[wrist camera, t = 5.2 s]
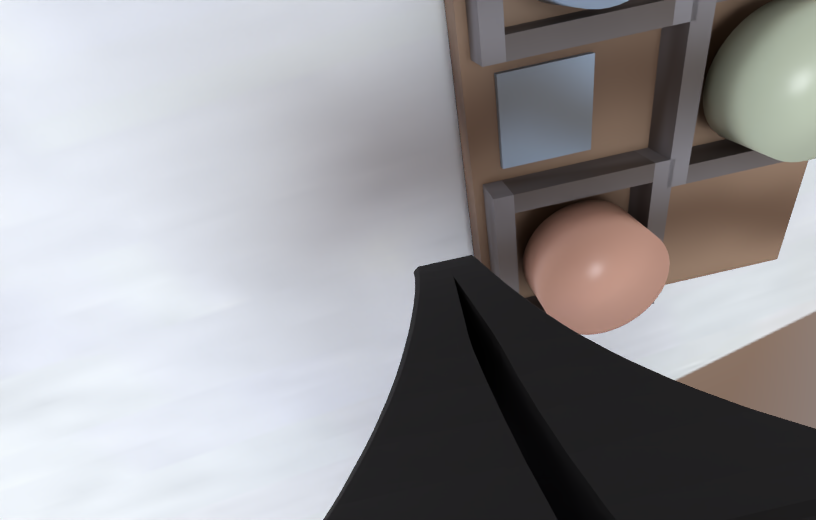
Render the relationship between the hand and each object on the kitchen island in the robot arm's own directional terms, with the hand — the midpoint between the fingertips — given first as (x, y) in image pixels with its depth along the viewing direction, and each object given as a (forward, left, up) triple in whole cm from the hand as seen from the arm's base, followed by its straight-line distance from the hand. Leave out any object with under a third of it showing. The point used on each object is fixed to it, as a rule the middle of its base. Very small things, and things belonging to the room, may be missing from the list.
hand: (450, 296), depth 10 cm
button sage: (+1, -14, -8) cm, 16 cm away
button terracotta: (-5, -7, -8) cm, 11 cm away
